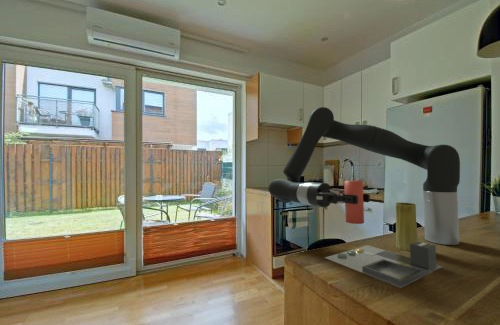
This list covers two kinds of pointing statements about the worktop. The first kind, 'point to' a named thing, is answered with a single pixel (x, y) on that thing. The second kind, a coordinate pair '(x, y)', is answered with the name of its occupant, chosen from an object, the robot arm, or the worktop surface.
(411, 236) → the vase
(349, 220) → the red tapered cylinder
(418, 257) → the breaker
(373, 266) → the panel
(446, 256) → the worktop surface
